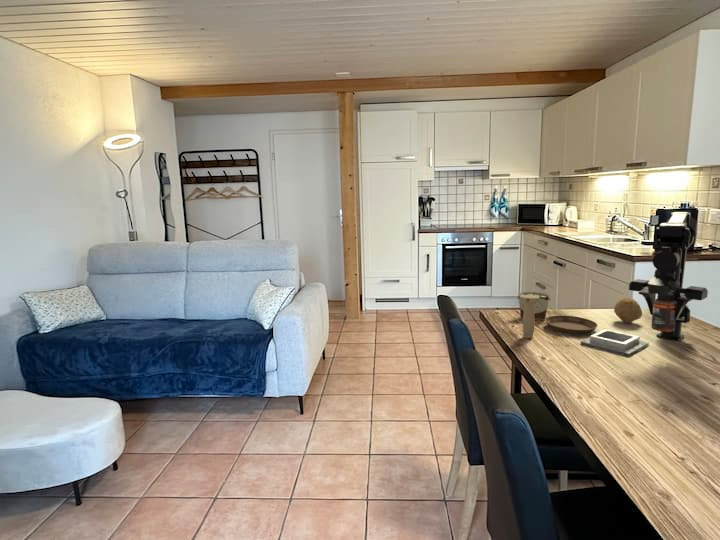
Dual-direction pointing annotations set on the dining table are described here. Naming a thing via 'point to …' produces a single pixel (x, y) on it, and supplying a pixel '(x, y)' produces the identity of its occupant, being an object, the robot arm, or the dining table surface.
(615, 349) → the grey square tray
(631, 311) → the natural sponge
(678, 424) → the dining table surface
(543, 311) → the food container
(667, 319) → the supplement bottle
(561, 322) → the plant saucer
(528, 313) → the handle
